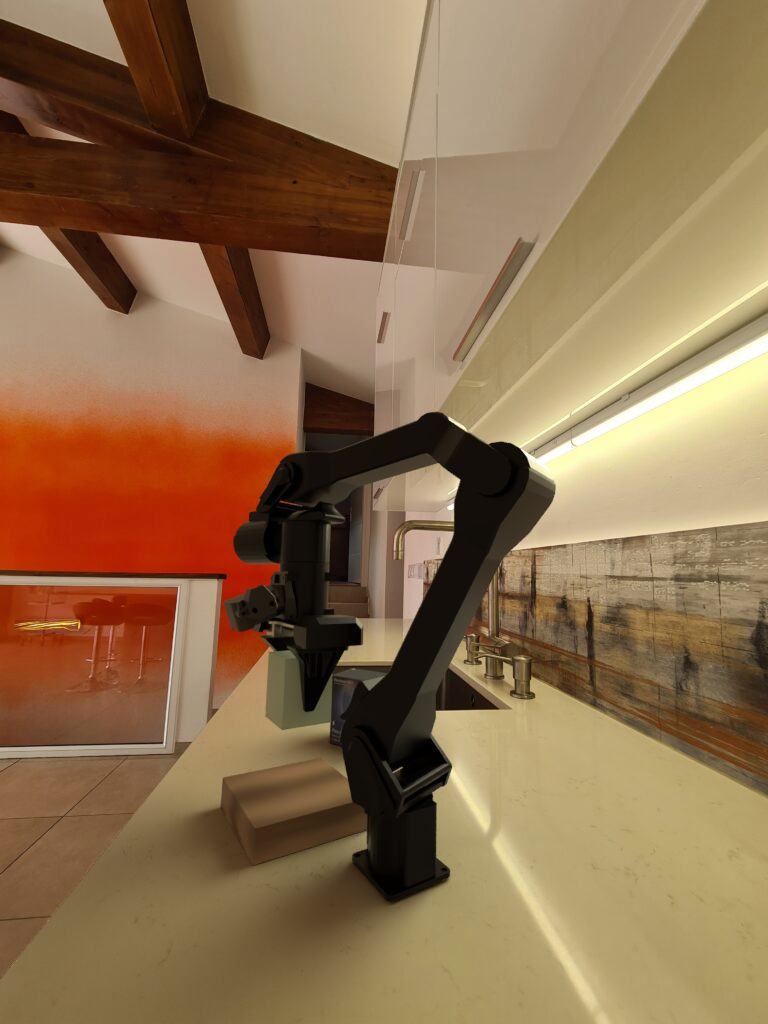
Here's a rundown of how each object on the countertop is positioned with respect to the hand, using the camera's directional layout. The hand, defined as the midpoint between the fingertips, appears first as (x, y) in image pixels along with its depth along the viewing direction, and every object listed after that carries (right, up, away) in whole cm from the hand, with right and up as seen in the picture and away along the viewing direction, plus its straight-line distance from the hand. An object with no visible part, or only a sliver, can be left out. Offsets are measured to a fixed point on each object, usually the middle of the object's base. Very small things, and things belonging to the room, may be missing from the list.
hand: (298, 704), depth 50 cm
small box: (+7, -15, +20) cm, 26 cm away
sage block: (0, -2, 0) cm, 2 cm away
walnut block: (0, -11, -2) cm, 11 cm away
